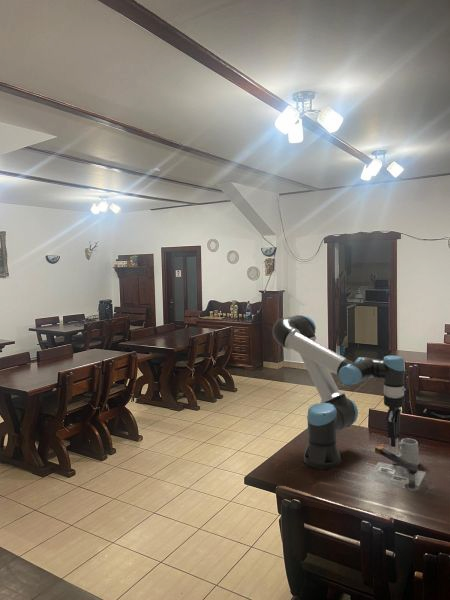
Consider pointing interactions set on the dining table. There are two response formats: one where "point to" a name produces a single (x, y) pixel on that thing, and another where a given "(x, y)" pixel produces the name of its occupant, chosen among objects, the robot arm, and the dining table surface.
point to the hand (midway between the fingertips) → (393, 453)
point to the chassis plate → (399, 472)
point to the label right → (400, 479)
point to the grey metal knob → (412, 483)
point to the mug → (409, 450)
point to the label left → (386, 471)
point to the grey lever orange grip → (396, 459)
